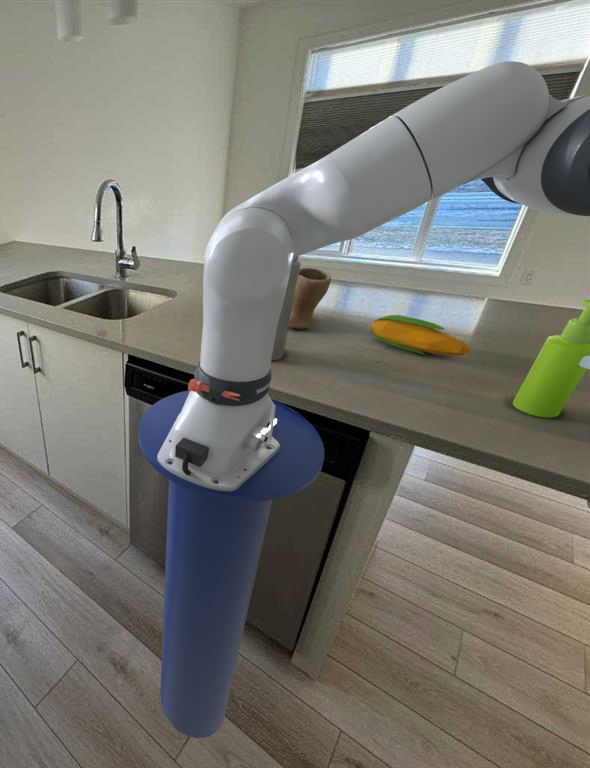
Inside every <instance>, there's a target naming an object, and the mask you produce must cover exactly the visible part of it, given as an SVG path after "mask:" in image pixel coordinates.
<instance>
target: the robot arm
mask: <svg viewBox="0 0 590 768" xmlns="http://www.w3.org/2000/svg"><path fill="white" fill-rule="evenodd" d="M479 180H481V181H482V182H483V183H484V184H485V185H486V186H487V187H488V188H489V190H490V191H491V192H492V193H493V194H495V195H496V196H497V197H499V198H500V199H502V200H504V201H506V202H509V203H512V204H517V205H522V206H525V207H527V208H530V209H531V210H535V211H539V212H545V213H552V214H568V215H569V214H570V215H574V216H581V217H590V93H589V94H584V95H580V96H575V97H569V98H566V99H562V100H558V99H556V98H555V97H553V95H551V94H550V93H549V88H548V85H547V82H546V80H545V79H544V76H543V75H541V74H540V73H539V71H538V70H537V69H535V68H534V67H532V66H531V65H529V64H528V63H524V62H521V61H514V60H510V61H509V60H508V61H507V60H506V61H502V62H497V63H493V64H491V65H488V66H486V67H484V68H481V69H479V70H477V71H475V72H472V73H470V74H467V75H465V76H463V77H461V78H459V79H456V80H454V81H452V82H450V83H448V84H446V85H444V86H442V87H441V88H438V89H437V90H435V91H432V92H430V93H429V94H426V95H425V96H423V97H421V98H419V99H418V100H416V101H414V102H412V103H411V104H409V105H407V106H406V107H404V108H402V109H401V110H399V111H396V112H395V113H393V114H392V115H390V116H389V117H386V118H385V119H384V120H382V121H380V122H379V123H377V124H375V125H374V126H372V127H370V128H369V129H368V130H366V131H364V132H363V133H361V134H359V135H358V136H356V137H354V138H353V139H351V140H349V141H347V142H346V143H345V144H343V145H341V146H340V147H338V148H336V149H335V150H333V151H332V152H330V153H328V154H327V155H325V156H324V157H322V158H320V159H319V160H317V161H315V162H313V163H311V164H309V165H307V166H305V167H304V168H302V169H300V170H299V171H297V172H295V173H293V174H291V175H289V176H287V177H286V178H284V179H282V180H280V181H278V182H277V183H275V184H273V185H272V186H269V187H268V188H265V190H263V191H260V192H259V193H257V194H256V195H253V196H252V197H251V198H249V199H247V200H245V201H243V202H242V203H240V204H238V205H237V206H235V207H234V208H232V209H230V210H229V211H227V212H226V214H224V216H223V217H222V219H220V220H219V222H218V224H217V226H216V228H215V230H214V231H213V233H212V235H211V237H210V239H209V240H208V243H207V246H206V248H205V252H204V257H203V258H204V259H203V280H202V281H203V283H202V284H203V285H202V330H201V331H202V332H201V333H202V335H201V344H200V356H199V357H200V359H199V360H198V363H197V366H196V368H195V370H194V371H195V372H194V378H192V379H190V380H189V381H188V384H187V385H188V386H187V391H190V393H189V395H188V397H187V399H186V402H185V404H184V406H183V408H182V411H181V413H180V414H179V415H178V417H177V419H176V421H175V423H174V425H173V427H172V429H171V430H170V432H169V434H168V436H167V438H166V440H165V442H164V444H163V445H162V447H161V449H160V451H159V453H158V457H157V460H158V462H159V463H160V464H161V465H162V466H163V467H164V468H165V469H167V470H168V471H169V472H171V473H173V474H174V475H176V476H178V477H180V478H182V479H184V480H186V481H189V482H191V483H194V484H196V485H199V486H202V487H205V488H209V489H213V490H218V491H231V492H232V491H235V490H237V489H238V488H239V487H240V486H241V485H242V484H244V483H245V482H246V481H247V480H248V479H249V478H250V477H251V476H252V475H253V474H255V473H256V472H257V471H258V470H259V469H260V468H261V467H262V466H263V465H264V464H265V463H267V462H268V461H269V460H270V459H271V458H272V457H273V456H274V455H275V454H276V453H278V452H279V450H280V444H279V443H278V442H277V441H276V440H275V439H274V438H273V437H272V431H273V426H274V425H275V424H276V422H277V419H274V415H275V405H274V403H273V402H272V400H273V399H272V398H271V396H270V395H269V391H270V387H271V384H272V380H273V379H272V375H273V374H272V372H273V370H272V367H271V363H272V360H271V358H272V352H273V346H274V341H275V335H276V330H277V325H278V321H279V317H280V314H281V310H282V306H283V302H284V298H285V293H286V289H287V285H288V280H289V276H290V271H291V266H292V262H293V258H295V257H298V256H299V257H300V256H303V255H305V254H308V253H310V252H313V251H317V250H319V249H323V248H326V247H328V246H330V245H334V244H337V243H342V242H345V241H350V240H354V239H357V238H359V237H362V236H364V235H365V234H368V233H369V232H371V231H373V230H375V229H377V228H380V227H381V226H383V225H385V224H388V223H389V222H392V221H393V220H395V219H398V218H399V217H402V216H404V215H406V214H408V213H410V212H412V211H414V210H416V209H419V208H420V207H423V206H424V205H426V204H428V203H430V202H432V201H434V200H436V199H438V198H440V197H442V196H444V195H446V194H448V193H449V192H452V191H453V190H456V189H457V188H459V187H461V186H465V185H467V184H471V183H473V182H476V181H479ZM299 257H298V258H299ZM579 365H580V366H581V367H584V368H587V370H590V355H588V356H585V357H583V358H582V360H581V361H580V363H579ZM170 464H171V465H170ZM215 483H217V484H215Z"/></svg>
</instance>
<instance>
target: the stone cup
mask: <svg viewBox="0 0 590 768" xmlns="http://www.w3.org/2000/svg"><path fill="white" fill-rule="evenodd" d="M331 282H332V277H331V275H330V274H329V273H328V272H326V271H324V270H321V269H319V268H315V267H300V269H299V274H298V280H297V285H296V290H295V296H294V301H293V306H292V311H291V316H290V321H289V327H288V329H299V330H300V329H308V328H310V327H311V326H312V325H313V323H314V319H315V310H316V308H317V306H318V305H319V304H320V302H321V301H322V300H323V298H324V297H325V296H326V295H327V293H328V291H329V288H330V285H331Z"/></svg>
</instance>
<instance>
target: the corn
mask: <svg viewBox="0 0 590 768" xmlns="http://www.w3.org/2000/svg"><path fill="white" fill-rule="evenodd" d="M445 329H446V328H445V327H443V326H441V325H438V324H436V323H434V322H431V321H427V320H424V319H420V318H416V317H411V316H406V315H401V314H389V315H386V316H382V317H378V318H377V319H375V320H374V321H372V322H371V325H370V331H371V333H372V335H373V336H374V337H375V338H377V339H378V340H379V341H380V342H383V343H385V344H386V345H389V346H392V347H396V348H398V349H401V350H404V351H405V350H406V351H408V352H412V353H415V354H418V355H423V356H426V354H425V353H428V354H434V355H439V356H440V355H442V356H459V357H460V356H461V357H462V356H464V355H468V354H470V353H471V351H472V349H471V347H470V346H469V345H468V344H467V343H465V341H463V340H461V339H459V338H456V337H455V336H452V335H450V334H448V333H446V332H444V331H443V330H445Z"/></svg>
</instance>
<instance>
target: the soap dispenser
mask: <svg viewBox="0 0 590 768" xmlns="http://www.w3.org/2000/svg"><path fill="white" fill-rule="evenodd" d="M580 304H581V305H583V306H585V307H584V308H583V310H582V312H581V314H580V315H579V317H576V318H571V319H569V320H568V321H567V324H566V325H565V327H564V329H563V331H562V333H561V334H559V335H550V336H548V337H547V338H546V340H545V342H544V344H543V345H542V347H541V349H540V351H539V353H538V355H537V357H535V360H534V362H533V364H532V366H531V368H530V370H529V371H528V373H527V375H526V377H525V378H524V381H523V382H522V384H521V386H520V388H519V390H518V391H517V393H516V395H515V397H514V399H513V400H512V406H513V407H514V408H515V409H516V410H519V411H521V412H522V413H525V414H528V415H531V416H533V417H535V416H536V417H540V418H549V419H550V418H556V417H558V416H559V415H560V414H561V412H562V410H563V409H564V408H565V406H566V404H567V402H568V401H569V399H570V398H571V396H572V395H573V393H574V391H575V389H576V388H577V386H578V385H579V383H580V381H581V380H582V378H583V377H584V375H585V374H586V372H587V370H588V369H587V368H584V367H581V366H580V365H579V363H580V361H581V360H582V358H583V357H585V356H588V355H590V299H582V300H581V301H580Z"/></svg>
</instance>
